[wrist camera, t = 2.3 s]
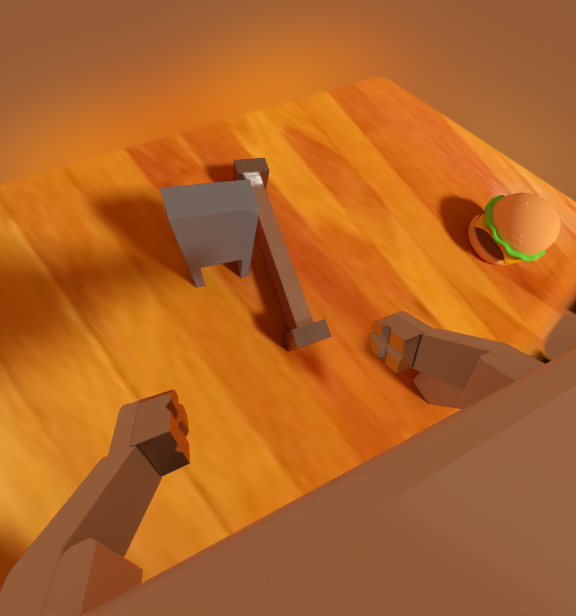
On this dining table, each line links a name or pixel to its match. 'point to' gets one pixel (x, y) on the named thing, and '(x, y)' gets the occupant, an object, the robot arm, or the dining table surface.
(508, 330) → the dining table surface
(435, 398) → the printed food carton
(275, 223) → the rail
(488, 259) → the hamburger
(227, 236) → the clip
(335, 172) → the dining table surface
